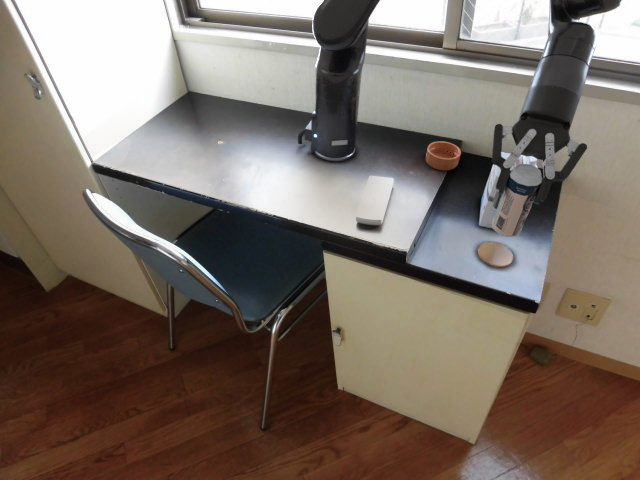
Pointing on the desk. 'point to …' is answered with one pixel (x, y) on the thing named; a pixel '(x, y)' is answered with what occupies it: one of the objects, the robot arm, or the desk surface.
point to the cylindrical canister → (517, 200)
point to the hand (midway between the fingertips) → (518, 198)
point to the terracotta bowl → (443, 155)
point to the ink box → (494, 192)
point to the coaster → (495, 254)
